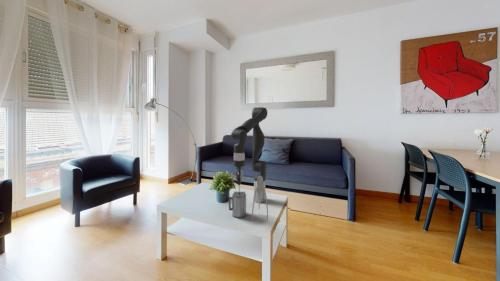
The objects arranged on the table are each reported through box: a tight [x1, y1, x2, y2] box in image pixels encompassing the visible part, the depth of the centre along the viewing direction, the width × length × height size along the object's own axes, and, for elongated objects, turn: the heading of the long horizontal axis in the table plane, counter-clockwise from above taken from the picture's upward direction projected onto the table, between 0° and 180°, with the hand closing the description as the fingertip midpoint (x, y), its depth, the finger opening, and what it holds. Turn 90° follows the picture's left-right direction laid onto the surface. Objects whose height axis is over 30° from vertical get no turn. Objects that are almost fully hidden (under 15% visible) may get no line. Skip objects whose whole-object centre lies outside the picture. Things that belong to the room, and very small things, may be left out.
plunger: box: [238, 177, 243, 194], centre depth 140 cm, size 7×7×18 cm
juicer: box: [251, 176, 269, 222], centre depth 137 cm, size 10×9×30 cm
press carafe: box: [228, 191, 247, 219], centre depth 142 cm, size 9×12×15 cm
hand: (239, 183), depth 140 cm, fingers closed on plunger, 3 cm apart
